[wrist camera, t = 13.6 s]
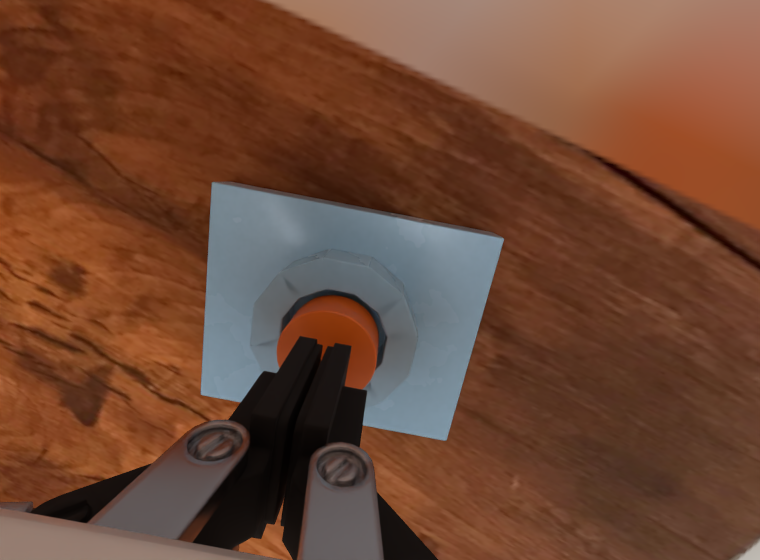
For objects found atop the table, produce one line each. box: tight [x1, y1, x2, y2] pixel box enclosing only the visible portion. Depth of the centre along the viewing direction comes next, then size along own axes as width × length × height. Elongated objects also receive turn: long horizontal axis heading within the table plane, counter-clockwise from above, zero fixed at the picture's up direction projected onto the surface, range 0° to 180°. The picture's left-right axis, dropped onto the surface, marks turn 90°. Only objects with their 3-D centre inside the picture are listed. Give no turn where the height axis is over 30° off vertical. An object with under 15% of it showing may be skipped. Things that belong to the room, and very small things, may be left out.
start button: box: [277, 295, 379, 389], centre depth 13 cm, size 4×4×2 cm
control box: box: [201, 182, 504, 441], centre depth 16 cm, size 10×12×4 cm
